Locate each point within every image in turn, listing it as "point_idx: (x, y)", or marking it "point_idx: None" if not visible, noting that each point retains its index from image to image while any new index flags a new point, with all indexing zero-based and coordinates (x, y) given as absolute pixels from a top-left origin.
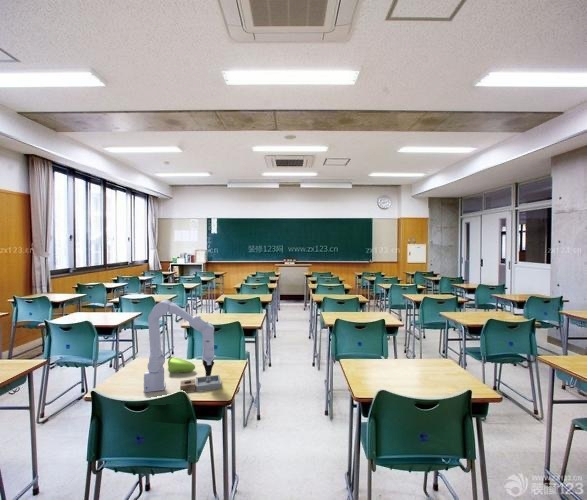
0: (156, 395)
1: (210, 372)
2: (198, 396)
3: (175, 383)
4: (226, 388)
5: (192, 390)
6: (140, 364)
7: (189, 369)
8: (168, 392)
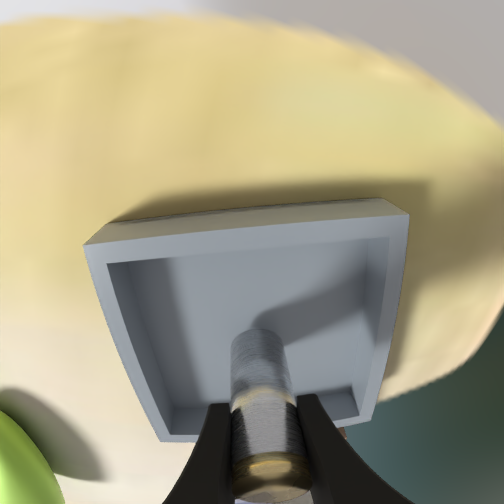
0: None
1: (332, 430)
2: (440, 362)
3: None
4: (399, 142)
5: None
6: None
7: (25, 444)
8: None
